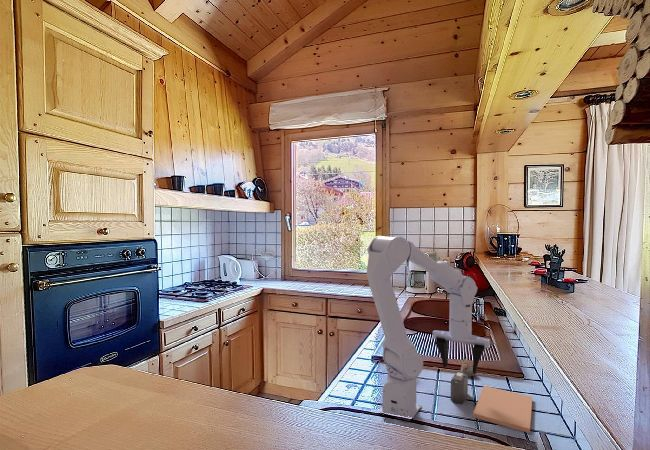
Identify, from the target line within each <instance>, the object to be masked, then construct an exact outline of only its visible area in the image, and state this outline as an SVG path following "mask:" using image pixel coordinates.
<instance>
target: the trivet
mask: <svg viewBox="0 0 650 450" xmlns="http://www.w3.org/2000/svg"><path fill="white" fill-rule="evenodd" d="M476 402H477V403H476V405H475V407H474V410H473V412H472V418H474V419H478V420H483V421H484V422H485V421H486V422H488V423H489V422H490V423H493V424H496V425H499V426H503V427H507V428H510V429H514V430H517V431H520V432H524V433H527V434H531V426H532V425H531V423H532V413H533V411H532V410H533V409H532V408H533V396H531V395H530V396H529V395H526V394H522V393H517V392H513V391H508V390H505V389H500V388H495V387H492V386H488V385H483V387H482V390H481V392H480V395H479V397H478V400H477V401H476Z"/></svg>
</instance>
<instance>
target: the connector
mask: <svg viewBox="0 0 650 450" xmlns="http://www.w3.org/2000/svg"><path fill="white" fill-rule="evenodd" d="M468 380H469V376H467V375H466V374H463V373H461V372H455V373H454V374H453V376H452V377H451V380H450V401H451V402H452V403H454V404H455V405H456V404H458V405H462V404H465V401H466V399H467V397H468V390H469V389H468V388H469V384H468V383H469V381H468Z"/></svg>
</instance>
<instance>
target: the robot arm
mask: <svg viewBox="0 0 650 450" xmlns="http://www.w3.org/2000/svg"><path fill="white" fill-rule="evenodd" d="M366 250H367V254H368V258H367V266H366V279H367V283H368V285H369V288H370V291H371V292H370V293H371V295H372V299H373V302H374V305H375V308H376V312H377V315H378V318H379V321H380V325H381V328H382V332H383V335H384V338H385V339H384V340H383V341H382V343H381V344H382V350H383V351H382V359H383V362H384V363H385V364H387V367H386V369H387V380H386V383H385V384H384V386H383V387H382V405H381V408H380V409H378V412H379V411H382V412H384V413H390V414H394V415H400V416H404V417H408V416H409V417H413V418H414V417H415V416H416V414H417V413H418V412H419V410H420V409H421V408H422V403H418V402H417V380H418V378H419V376H420V374H421V373H422V372H423V368H424V360H423V358H422V355H421V354H419V352H418V351H417V349H416V346H415V345H414V343H413V342H412V340H411V339H410V338H409V336H408V334H407V331H406V328H405V324H404V320H403V317H402V315H401V310H400V307H399V304H398V300H397V296H396V293H395V290H394V286H393V283H392V281H391V280H392V279H391V277H392V275H394V273H395V272H396V271H397V270H398V269H399V268H400V267H401V266H402V265H403V264H404V263H405V262H406V261H409V262H411V263H412V264H414V265H416V266H418V267H419V268H421V269H423V270H424V271H426V272H428V276H429V279H430V280H432V281H433V282H435V283H436V284H438V285H439V286H441V287H442V288H444V290H445V291H446V293H447V294H449V315H448V317H449V320H448V322H449V325H448V326H449V327H448V329H449V331H446V330H439V329H438V330H436V329H435V330H433V331H432V339H433V340H435V346H436V347H437V349H438V352H439V354H440V357H441V361H442V362H441V363H442V367H443V368H446V367H448V362H449V359H448V358H449V357H448V350H449V349H448V348H449V341H450V342H454V343H455V342H456V343H461V344H466V345H472V346H473V347H472V358H473V360H472V361H473V362H472V363H473V365H472V367H473V373H474V374H475V375H476V374H477V373H476V372H477V371H478V367H479V366H478V365H479V362H480V360H481V357H482V354H483V353H484V351H485V349H489V348H490V344H491V343H490V338H485V337H481V336H477V335H473V334H472V331H473V328H472V324H473V322H472V321H473V320H472V319H473V318H472V317H473V304H474V302H475V301H474V300H475V299H474V298H475V296H476V294H477V293H478V286H477V285H476V284H477V283H476V282H475V280H474V279H473V278H472V277H471V276H466V275H464V274H462V271H461V270H458V269H456V268H454V267H452V266H451V263H450V262H449V261H446V260H438V261H436V260H434V259H433V258H432V257H431V256H429V255H428V254H427V253H425V252H424V251H422V250H421V249H420V248H418V247H417V246H416V245H415V244H414V243H413V242H412V241H410V240H407V238H405V237H403V236H385V235H376V236H375V237H374V238H373V239H372V240H371V241H370V244H369V245H368V246H367V249H366ZM407 336H408V337H407Z"/></svg>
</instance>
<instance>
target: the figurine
mask: <svg viewBox="0 0 650 450" xmlns="http://www.w3.org/2000/svg"><path fill="white" fill-rule="evenodd" d="M460 373H463V374H466V375H467V376H468V377H474V376H475V375H476V374H477V372H476V374H474V373H473V366H470V362H469V356H468V355H466V358H465V359H464V361H463V362H462V363H461V366H460Z"/></svg>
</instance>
